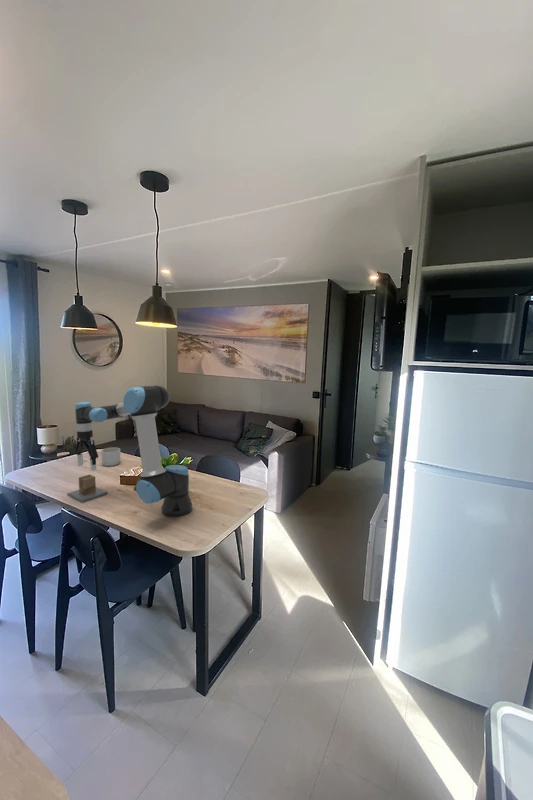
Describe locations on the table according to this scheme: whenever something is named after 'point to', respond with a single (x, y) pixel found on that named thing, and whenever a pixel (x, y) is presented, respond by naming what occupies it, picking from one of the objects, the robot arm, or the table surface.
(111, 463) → the planter
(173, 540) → the table surface
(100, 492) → the slate board
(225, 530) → the table surface
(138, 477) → the rock
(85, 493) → the walnut block
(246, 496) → the table surface
